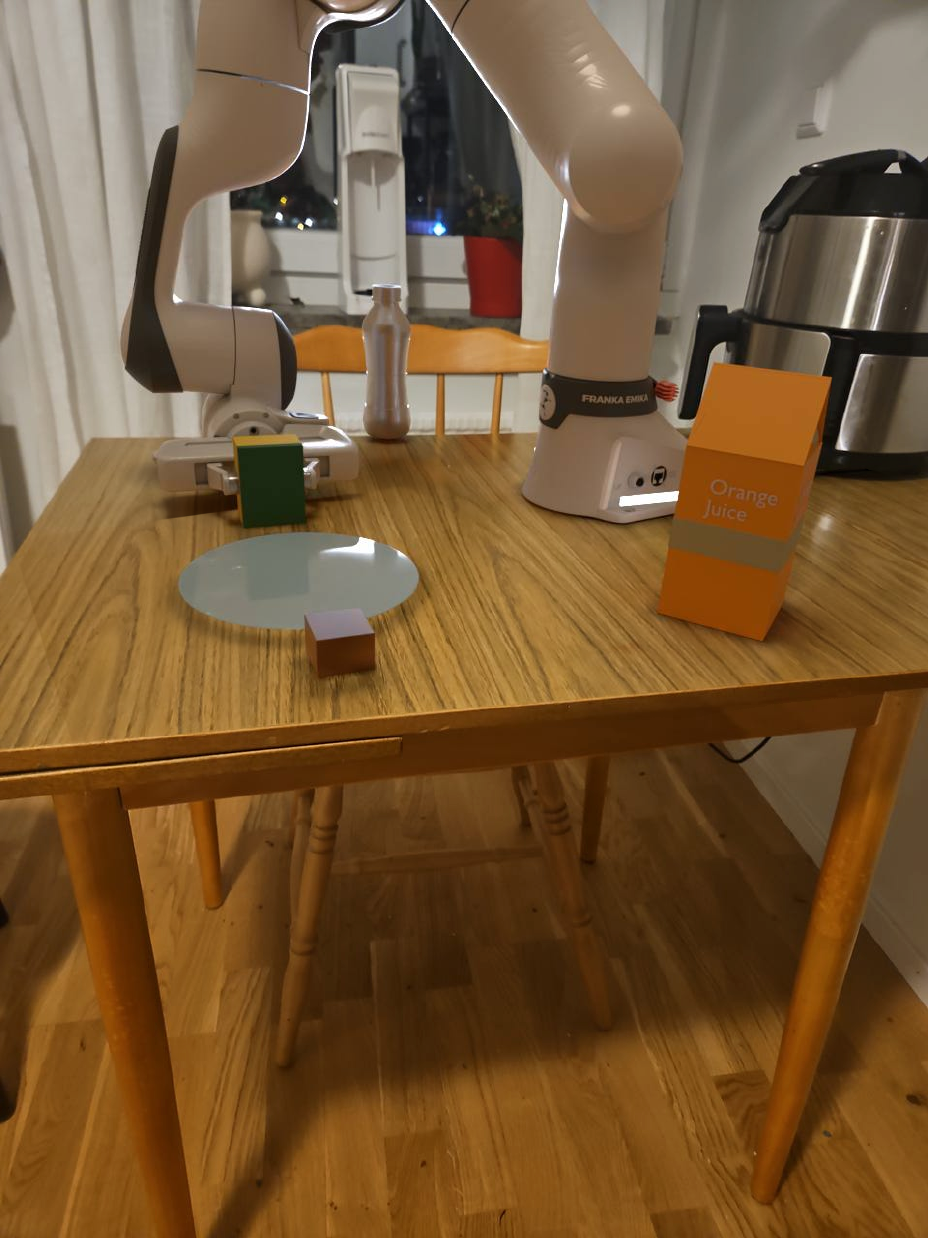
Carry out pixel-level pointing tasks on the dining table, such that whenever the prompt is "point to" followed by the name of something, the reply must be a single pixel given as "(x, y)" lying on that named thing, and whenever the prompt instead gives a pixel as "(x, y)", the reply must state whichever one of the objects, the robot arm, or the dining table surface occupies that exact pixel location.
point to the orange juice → (743, 497)
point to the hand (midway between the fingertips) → (271, 484)
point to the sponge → (270, 480)
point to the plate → (296, 579)
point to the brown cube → (339, 642)
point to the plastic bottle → (386, 365)
